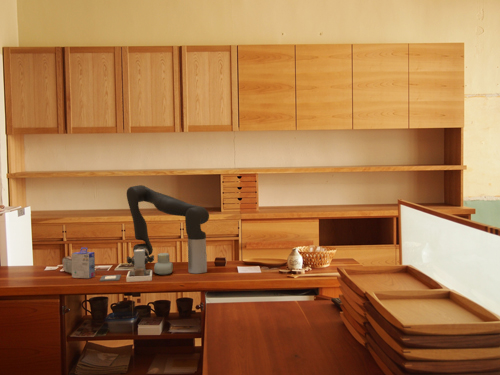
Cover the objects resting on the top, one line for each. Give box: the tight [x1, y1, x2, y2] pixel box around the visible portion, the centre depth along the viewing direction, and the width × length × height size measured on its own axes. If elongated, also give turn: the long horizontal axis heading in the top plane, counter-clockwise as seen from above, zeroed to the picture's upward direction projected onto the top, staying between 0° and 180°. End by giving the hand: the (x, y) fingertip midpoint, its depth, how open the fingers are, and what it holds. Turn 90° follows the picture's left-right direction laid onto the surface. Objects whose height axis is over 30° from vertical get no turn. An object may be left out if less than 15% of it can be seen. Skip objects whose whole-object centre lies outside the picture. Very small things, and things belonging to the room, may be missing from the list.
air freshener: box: [153, 252, 174, 276], centre depth 231 cm, size 11×8×10 cm
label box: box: [133, 249, 147, 276], centre depth 226 cm, size 5×5×13 cm
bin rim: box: [125, 269, 153, 283], centre depth 224 cm, size 12×13×2 cm
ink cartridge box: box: [71, 246, 96, 279], centre depth 226 cm, size 10×6×14 cm, turn 79°
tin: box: [61, 255, 72, 275], centre depth 235 cm, size 15×3×8 cm, turn 47°
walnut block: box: [134, 268, 144, 276], centre depth 220 cm, size 4×4×5 cm
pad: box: [99, 274, 122, 282], centre depth 223 cm, size 9×9×1 cm
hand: (139, 262), depth 223 cm, fingers closed on label box, 5 cm apart
